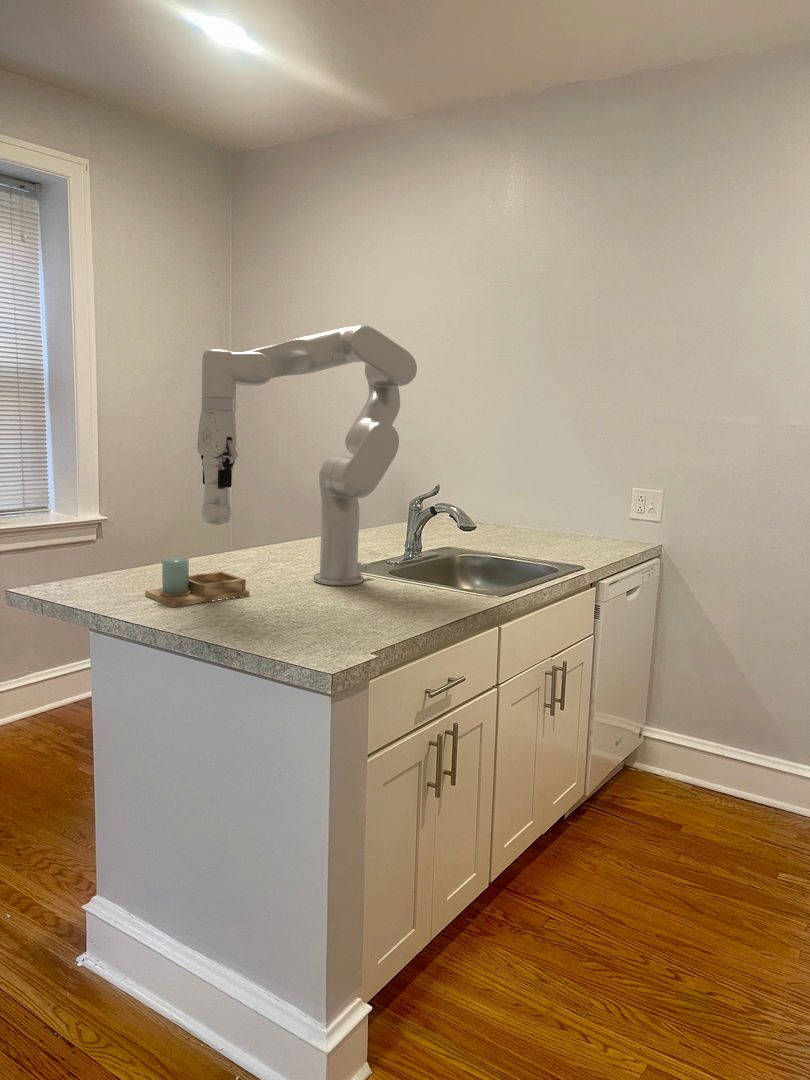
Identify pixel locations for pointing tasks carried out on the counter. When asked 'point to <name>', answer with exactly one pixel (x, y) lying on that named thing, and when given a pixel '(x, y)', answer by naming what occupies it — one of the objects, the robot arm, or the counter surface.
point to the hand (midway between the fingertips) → (217, 484)
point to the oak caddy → (203, 589)
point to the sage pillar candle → (175, 575)
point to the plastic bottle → (214, 494)
